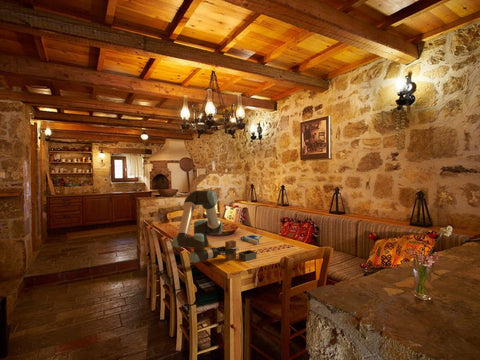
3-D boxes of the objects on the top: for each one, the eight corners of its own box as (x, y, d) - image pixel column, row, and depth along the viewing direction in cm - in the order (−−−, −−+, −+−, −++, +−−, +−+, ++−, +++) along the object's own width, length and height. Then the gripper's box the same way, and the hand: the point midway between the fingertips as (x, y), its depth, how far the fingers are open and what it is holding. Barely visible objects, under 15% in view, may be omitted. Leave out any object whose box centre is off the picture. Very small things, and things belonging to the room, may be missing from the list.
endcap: (245, 261, 198) (245, 255, 198) (238, 258, 204) (238, 252, 204) (256, 258, 205) (256, 252, 204) (249, 255, 211) (249, 249, 211)
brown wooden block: (228, 260, 199) (228, 242, 199) (225, 259, 203) (225, 241, 202) (236, 259, 204) (236, 241, 203) (232, 257, 207) (232, 239, 207)
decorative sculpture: (251, 242, 239) (233, 235, 264) (251, 246, 240) (233, 239, 264) (273, 237, 255) (254, 232, 279) (273, 241, 255) (254, 235, 279)
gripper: (204, 255, 199) (229, 249, 214) (217, 261, 185) (243, 255, 199) (204, 245, 199) (229, 240, 213) (217, 251, 184) (243, 245, 199)
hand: (236, 247), depth 206 cm, fingers open, 6 cm apart
